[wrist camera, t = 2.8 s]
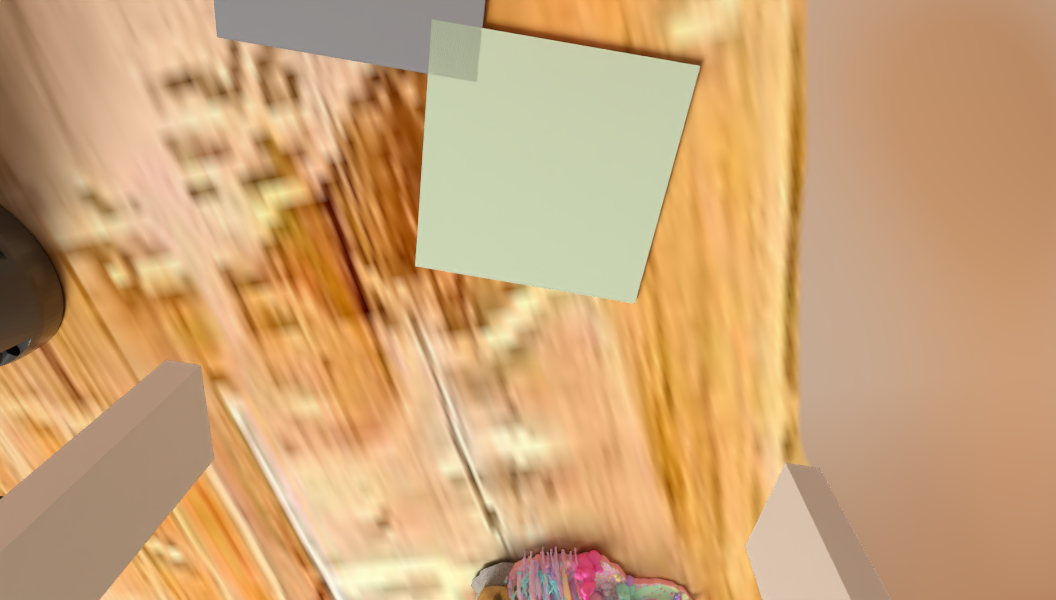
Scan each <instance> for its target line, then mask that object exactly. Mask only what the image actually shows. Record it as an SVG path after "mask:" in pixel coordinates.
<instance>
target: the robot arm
mask: <svg viewBox="0 0 1056 600" xmlns="http://www.w3.org/2000/svg"><path fill="white" fill-rule="evenodd" d="M62 316H63V295H62V290H61V286H60V282H59V279H58V277H57V274H56V272H55V270H54V267H53V265H52V264H51V262H50V260H49V258H48V257H47V255H46V253H45V252H44V250H43V249H42V247H41V246H40V245H39V243H38V242H37V241H36V240H35V238H34V237H33V236H32V235H31V234H30V233H29V231H28V230H27V229H26V228H25V227H24V226H23V225H22V224H21V223H20V222H19V221H18V220H17V219H15V218H14V217H13V216H12V215H11V214H10V213H8V212H7V211H6V210H5V209H3V208H2V207H1V206H0V366H3V365H6V364H9V363H12V362H14V361H16V360H19V359H21V358H22V357H24V356H26V355H28V354H29V353H31V352H32V351H34V350H36V349H37V348H39V347H41V346H42V345H44V344H45V343H47V342H48V341H49V340H50V339H51V338H52V337H53V336H54V335H55V333H56V332H57V330H58V328H59V326H60V323H61V320H62ZM213 460H214V452H213V446H212V439H211V432H210V425H209V419H208V412H207V405H206V399H205V392H204V385H203V378H202V372H201V365H195V364H189V363H183V362H177V361H171V360H165V361H164V362H163V363H162V364H161V365H160V366H158V367H157V368H156V369H155V370H154V371H152V372H151V373H150V374H149V375H148V376H146V377H145V378H144V379H143V380H142V381H141V382H139V383H138V384H137V385H136V386H135V387H133V388H132V389H131V390H130V391H129V392H127V393H126V394H125V395H124V396H123V397H122V398H120V399H119V400H118V401H117V402H116V403H114V404H113V405H112V406H111V407H110V408H108V409H107V410H106V411H105V412H104V413H102V414H101V415H100V416H99V417H98V418H97V419H95V420H94V421H93V422H92V423H91V424H89V425H88V426H87V427H86V428H85V429H83V430H82V431H81V432H80V433H79V434H78V435H76V436H75V437H74V438H73V439H72V440H70V441H69V442H68V443H67V444H66V445H64V446H63V447H62V448H61V449H60V450H59V451H57V452H56V453H55V454H54V455H53V456H51V457H50V458H49V459H48V460H47V461H45V462H44V463H43V464H42V465H41V466H39V467H38V468H37V469H36V470H35V471H34V472H32V473H31V474H30V475H29V476H28V477H26V478H25V479H24V480H23V481H22V482H20V483H19V484H18V485H17V486H16V487H15V488H13V489H12V490H11V491H10V492H9V493H7V494H6V495H5V496H4V497H3V496H0V600H100V599H101V597H102V596H103V595H104V594H105V592H106V591H107V590H108V589H109V587H110V586H111V585H112V584H113V583H114V581H115V580H116V579H117V578H118V576H119V575H120V574H121V573H122V571H123V570H124V569H125V568H126V567H127V565H128V564H129V563H130V562H131V560H132V559H133V558H134V557H135V556H136V554H137V553H138V552H139V551H140V549H141V548H142V547H143V546H144V544H145V543H146V542H147V541H148V540H149V538H150V537H151V536H152V535H153V533H154V532H155V531H156V530H157V528H158V527H159V526H160V525H161V524H162V522H163V521H164V520H165V519H166V517H167V516H168V515H169V514H170V513H171V511H172V510H173V509H174V508H175V506H176V505H177V504H178V503H179V501H180V500H181V499H182V498H183V497H184V495H185V494H186V493H187V492H188V490H189V489H190V488H191V487H192V485H193V484H194V483H195V482H196V481H197V479H198V478H199V477H200V476H201V474H202V473H203V472H204V471H205V470H206V468H207V467H208V466H209V465H210V463H211V462H212V461H213ZM745 548H746V551H747V554H748V557H749V560H750V563H751V566H752V569H753V572H754V576H755V579H756V582H757V585H758V588H759V591H760V594H761V597H762V600H891V599H890V596H889V595H888V593H887V591H886V589H885V588H884V585H883V584H882V582H881V580H880V578H879V576H878V574H877V573H876V571H875V569H874V567H873V565H872V563H871V562H870V560H869V558H868V556H867V554H866V553H865V551H864V549H863V547H862V545H861V543H860V542H859V540H858V538H857V536H856V534H855V532H854V531H853V529H852V527H851V525H850V523H849V521H848V519H847V518H846V516H845V514H844V512H843V510H842V508H841V507H840V505H839V503H838V501H837V499H836V497H835V496H834V494H833V492H832V490H831V488H830V486H829V484H828V483H827V481H826V479H825V477H824V475H823V473H822V472H821V470H820V468H814V467H808V466H802V465H796V464H790V463H785V465H784V467H783V469H782V471H781V473H780V475H779V478H778V480H777V482H776V484H775V486H774V488H773V490H772V492H771V494H770V496H769V498H768V500H767V502H766V504H765V506H764V509H763V511H762V513H761V515H760V517H759V519H758V521H757V523H756V525H755V527H754V529H753V531H752V533H751V535H750V537H749V539H748V542H747V544H746V546H745Z"/></svg>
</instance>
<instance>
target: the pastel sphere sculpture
mask: <svg viewBox="0 0 1056 600" xmlns="http://www.w3.org/2000/svg"><path fill="white" fill-rule="evenodd" d="M574 551H575V555H572V551H569V554H566V553H565V549H562V550H561V553H560V554H558V553H557V546H555V552H554V556H552V549H550V556H549V552H547V556H546V555H545V553H544V546H542V552H541V551H540V554H536V555H535V557H533V558H532V551H530V556H528V558H526V550H524V558H523V559H522V560H520V561H518V562H516V563H511V562H510V563H506V562H502V563H499V564H496V565H493V566H491V567H488V568H485V569H483V570H481V571H480V574H479V576H477V577H475V578H474V579H473V582H472V584H471V586H472V588H473V589H474V590H475V592H476V593H477V596H476V599H477V600H693V599H692V598H691V597H690V595H689V594H688V593H687V591H686V590H685V589H684V587H682V586H678V585H676V584H675V583H674V582H672V581H667V580H664V579H658V578H653V579H646V578H633V577H632V576H631V575H626V574H625V573H624V571H623V570H622V569H621V567H620V566H619V565H618V564H616V563H612V562H610V561H609V560H608V558H607V557H606V556H604V555H600V554H599V553H598V552H597V551H596V550H591V551H590V552H584V553H581V554H578V555H576V547H574Z"/></svg>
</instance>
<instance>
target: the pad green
mask: <svg viewBox="0 0 1056 600" xmlns="http://www.w3.org/2000/svg"><path fill="white" fill-rule="evenodd" d="M434 21H435V24H434ZM434 21H433V19H432V22H433V25H432V22H431V40H430V47H431V48H430V51H431V53H432V54H431V53H430V54H429V67H428V83H427V98H426V113H425V128H424V143H423V158H422V173H421V188H420V204H419V219H418V234H417V249H416V264H415V266H417V267H423V268H429V269H435V270H441V271H447V272H453V273H458V274H464V275H470V276H476V277H482V278H488V279H494V280H499V281H505V282H511V283H517V284H523V285H529V286H535V287H540V288H546V289H552V290H558V291H564V292H570V293H576V294H581V295H587V296H593V297H599V298H605V299H611V300H617V301H622V302H628V303H634V304H635V302H636V298H637V294H638V291H639V287H640V283H641V280H642V276H643V273H644V269H645V265H646V262H647V258H648V254H649V251H650V247H651V243H652V240H653V236H654V233H655V229H656V225H657V222H658V218H659V214H660V211H661V207H662V204H663V200H664V196H665V193H666V189H667V185H668V182H669V178H670V175H671V171H672V167H673V164H674V160H675V156H676V153H677V149H678V146H679V142H680V138H681V135H682V131H683V127H684V124H685V120H686V117H687V113H688V109H689V106H690V102H691V98H692V95H693V91H694V88H695V84H696V80H697V77H698V73H699V69H700V66H699V65H694V64H688V63H682V62H676V61H671V60H665V59H659V58H653V57H648V56H642V55H636V54H630V53H625V52H619V51H613V50H607V49H602V48H596V47H590V46H584V45H579V44H573V43H567V42H561V41H556V40H550V39H544V38H538V37H533V36H527V35H521V34H515V33H510V32H504V31H498V30H492V29H487V28H478V27H473V26H471V28H469V26H468V25H467V27H466V25H462V24H456V23H454V26H453V23H450V22H446V23H445V21H442V22H441V21H439V20H438V22H439V23H440V24H439V23H437V20H434ZM442 23H443V24H444V25H443V24H442ZM447 24H448V25H449V28H448V25H447ZM438 25H439V26H438ZM446 25H447V29H446ZM461 25H462V26H461ZM432 26H433V27H434V28H433V27H432ZM436 26H437V29H438V32H437V29H436ZM444 26H445V31H446V32H444ZM450 26H452V27H450ZM455 26H456V27H455ZM440 27H441V29H442V31H441V30H440ZM459 27H460V29H459ZM452 28H453V29H452ZM454 28H456V29H454ZM474 28H475V30H474ZM433 30H434V35H433ZM462 30H463V31H464V32H463V31H462ZM467 30H468V31H467ZM478 30H479V31H478ZM448 31H449V33H451V34H450V39H452V41H451V40H449V33H448ZM452 31H453V32H452ZM465 32H466V33H465ZM441 33H442V36H443V40H442V38H441ZM473 33H474V36H473ZM437 34H438V35H439V36H437ZM453 34H454V35H453ZM456 34H457V36H458V35H459V37H457V36H456ZM479 34H480V36H479ZM445 35H446V38H445ZM434 36H435V37H434ZM460 36H461V37H463V39H462V41H461V38H460ZM466 36H467V40H466V39H465V38H466ZM453 37H454V39H453ZM438 38H439V42H438ZM472 38H473V39H472ZM474 38H475V43H474V45H473V42H474ZM434 39H435V42H434ZM457 39H458V43H457ZM446 40H447V41H446ZM454 40H455V44H454ZM469 40H471V41H469ZM478 40H479V43H478V44H477V42H478ZM442 41H443V43H442ZM450 42H451V46H450ZM459 42H460V44H459ZM465 42H466V43H465ZM444 43H445V45H446V49H445V45H444ZM462 43H463V44H464V45H463V44H462ZM467 43H468V44H467ZM431 44H432V45H431ZM437 44H438V45H437ZM452 45H453V47H454V48H453V47H452ZM458 45H459V46H458ZM466 45H467V48H466ZM433 46H434V47H433ZM441 46H442V49H441ZM470 46H472V48H471V47H470ZM475 46H476V47H475ZM437 47H438V48H439V51H438V49H437ZM474 47H475V48H474ZM479 47H480V49H479ZM443 48H444V49H443ZM449 48H450V50H449ZM451 48H452V49H451ZM456 48H457V49H458V52H457V49H456ZM434 49H435V54H436V55H435V54H434ZM459 49H460V50H459ZM461 49H462V50H461ZM464 49H465V50H464ZM445 50H446V51H445ZM453 50H454V55H453ZM479 50H480V51H479ZM442 51H443V52H442ZM449 51H450V52H451V55H450V53H449ZM464 51H466V52H464ZM468 51H469V53H471V54H470V58H469V53H468ZM438 53H439V56H440V60H439V56H438V55H437V54H438ZM446 53H447V59H448V60H447V59H446ZM457 53H458V56H457ZM461 53H462V54H461ZM442 54H443V56H444V58H442ZM473 54H474V55H473ZM476 54H477V55H479V57H477V55H476ZM455 55H456V56H455ZM461 55H462V56H464V58H463V59H462V58H461ZM465 55H466V58H465ZM431 56H432V57H431ZM454 56H455V57H454ZM450 57H451V59H450ZM473 57H474V58H473ZM431 58H432V60H431ZM435 58H436V61H435ZM458 58H459V62H458ZM471 58H472V61H471V60H469V59H471ZM433 59H434V61H433ZM454 59H455V60H456V62H454ZM473 59H474V60H476V63H475V64H474V60H473ZM477 59H478V60H477ZM443 60H444V63H443ZM451 60H452V64H451ZM466 60H467V61H466ZM439 61H440V63H439ZM441 61H442V62H441ZM462 61H463V63H462ZM477 61H478V62H477ZM447 62H448V66H447ZM464 62H465V64H464ZM466 62H467V63H466ZM470 62H471V65H470ZM432 63H433V65H432ZM449 63H450V66H449ZM459 63H460V64H459ZM434 64H435V65H434ZM457 64H458V66H457ZM467 64H468V67H467ZM442 65H443V68H442ZM455 65H456V66H455ZM463 65H464V68H463ZM438 66H439V69H438ZM472 66H473V67H472ZM444 67H445V68H444ZM450 67H451V68H450ZM453 67H454V68H453ZM471 67H472V69H471ZM476 67H477V68H476ZM435 68H436V72H435ZM446 68H447V71H446ZM458 68H459V70H458ZM465 68H466V69H465ZM431 69H432V72H431V73H430V71H431ZM442 69H443V70H444V71H443V70H442ZM450 69H451V72H452V73H450ZM454 69H455V74H456V75H454ZM461 69H462V70H461ZM439 71H440V76H439ZM462 71H463V72H462ZM469 71H470V72H471V75H470V72H469ZM447 72H448V76H447ZM434 73H436V74H435V75H434ZM443 73H444V76H442V75H443ZM458 73H459V76H460V79H459V76H458ZM466 73H467V76H466ZM462 75H463V76H464V78H462ZM474 75H476V76H475V77H474ZM451 76H452V78H451ZM470 77H471V78H470ZM467 78H468V79H467ZM474 79H475V80H476V81H477V82H474ZM471 80H472V81H471Z"/></svg>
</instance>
